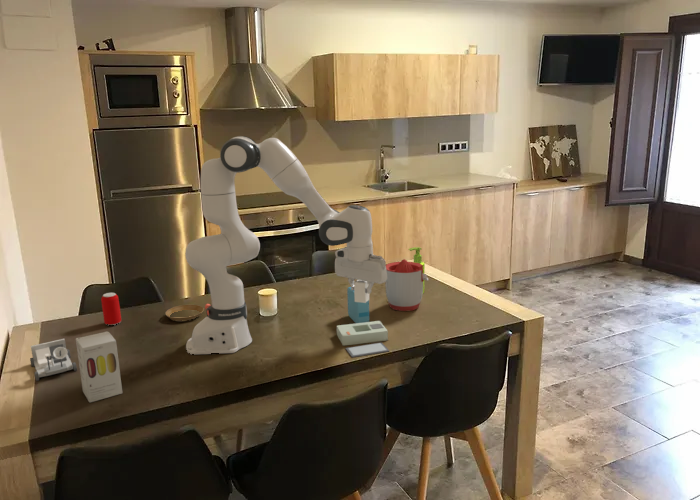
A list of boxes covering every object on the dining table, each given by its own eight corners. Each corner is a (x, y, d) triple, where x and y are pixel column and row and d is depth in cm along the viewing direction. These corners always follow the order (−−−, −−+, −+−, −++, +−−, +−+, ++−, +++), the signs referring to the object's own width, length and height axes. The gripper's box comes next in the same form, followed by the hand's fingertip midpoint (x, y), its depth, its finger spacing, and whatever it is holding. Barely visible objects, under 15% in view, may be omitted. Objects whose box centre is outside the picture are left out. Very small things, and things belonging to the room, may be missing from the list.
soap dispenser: (406, 291, 249) (406, 247, 244) (420, 289, 251) (421, 245, 246) (411, 295, 244) (411, 250, 239) (426, 293, 246) (426, 248, 241)
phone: (352, 359, 186) (352, 356, 185) (345, 350, 192) (345, 347, 192) (389, 353, 190) (389, 350, 189) (381, 345, 196) (381, 342, 196)
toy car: (74, 346, 177) (32, 356, 171) (79, 375, 179) (37, 386, 173) (65, 329, 191) (26, 337, 185) (69, 356, 194) (31, 365, 188)
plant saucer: (209, 310, 233) (209, 304, 232) (196, 324, 219) (196, 317, 218) (175, 310, 235) (174, 304, 234) (159, 323, 220) (159, 317, 220)
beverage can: (107, 328, 217) (103, 298, 214) (102, 323, 221) (98, 294, 218) (124, 323, 220) (120, 294, 217) (118, 319, 225) (114, 290, 222)
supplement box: (89, 403, 161) (80, 348, 157) (81, 391, 168) (73, 338, 164) (124, 393, 166) (116, 339, 162) (115, 381, 174) (108, 329, 170)
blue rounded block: (369, 324, 213) (369, 293, 210) (358, 326, 212) (357, 295, 209) (358, 313, 224) (358, 284, 221) (347, 315, 223) (347, 286, 220)
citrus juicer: (427, 314, 221) (428, 265, 217) (383, 313, 224) (382, 264, 219) (428, 301, 236) (429, 254, 231) (386, 299, 239) (386, 253, 234)
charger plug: (354, 301, 197) (354, 282, 196) (358, 298, 201) (358, 279, 199) (365, 302, 196) (365, 282, 194) (369, 299, 199) (369, 279, 198)
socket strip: (343, 345, 195) (342, 335, 194) (336, 334, 204) (336, 325, 203) (387, 340, 198) (387, 330, 197) (379, 329, 208) (379, 320, 207)
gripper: (390, 254, 190) (391, 294, 193) (342, 247, 202) (344, 284, 206) (379, 258, 185) (380, 299, 188) (331, 251, 197) (333, 289, 201)
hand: (361, 291), depth 197 cm, fingers closed on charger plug, 5 cm apart
